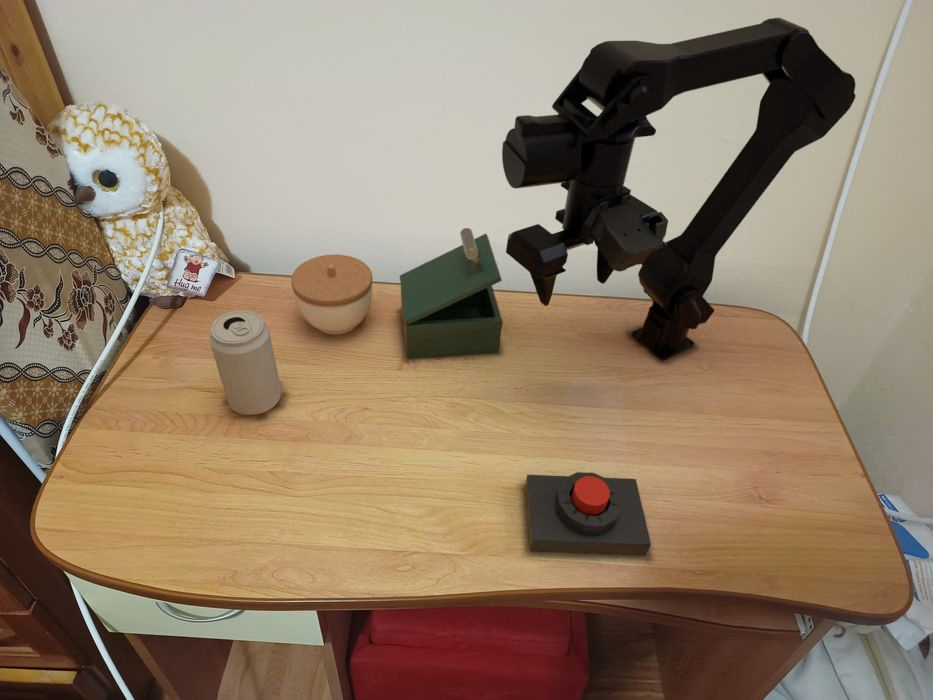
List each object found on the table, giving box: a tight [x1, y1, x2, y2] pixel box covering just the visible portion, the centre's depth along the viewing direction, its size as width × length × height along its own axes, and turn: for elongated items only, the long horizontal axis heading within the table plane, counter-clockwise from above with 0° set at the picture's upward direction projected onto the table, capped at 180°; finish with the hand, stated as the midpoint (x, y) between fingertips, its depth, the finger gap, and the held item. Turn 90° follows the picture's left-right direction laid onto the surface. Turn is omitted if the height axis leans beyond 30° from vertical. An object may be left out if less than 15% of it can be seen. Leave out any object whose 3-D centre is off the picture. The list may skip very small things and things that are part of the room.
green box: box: [400, 285, 503, 360], centre depth 87 cm, size 13×10×6 cm
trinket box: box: [290, 254, 374, 335], centre depth 86 cm, size 11×11×9 cm
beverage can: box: [209, 309, 282, 416], centre depth 73 cm, size 6×6×12 cm
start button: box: [572, 476, 610, 515], centre depth 64 cm, size 4×4×2 cm
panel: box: [524, 471, 652, 557], centre depth 66 cm, size 12×8×4 cm, turn 89°
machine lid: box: [399, 227, 503, 325], centre depth 81 cm, size 13×10×4 cm
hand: (573, 292), depth 77 cm, fingers open, 9 cm apart
